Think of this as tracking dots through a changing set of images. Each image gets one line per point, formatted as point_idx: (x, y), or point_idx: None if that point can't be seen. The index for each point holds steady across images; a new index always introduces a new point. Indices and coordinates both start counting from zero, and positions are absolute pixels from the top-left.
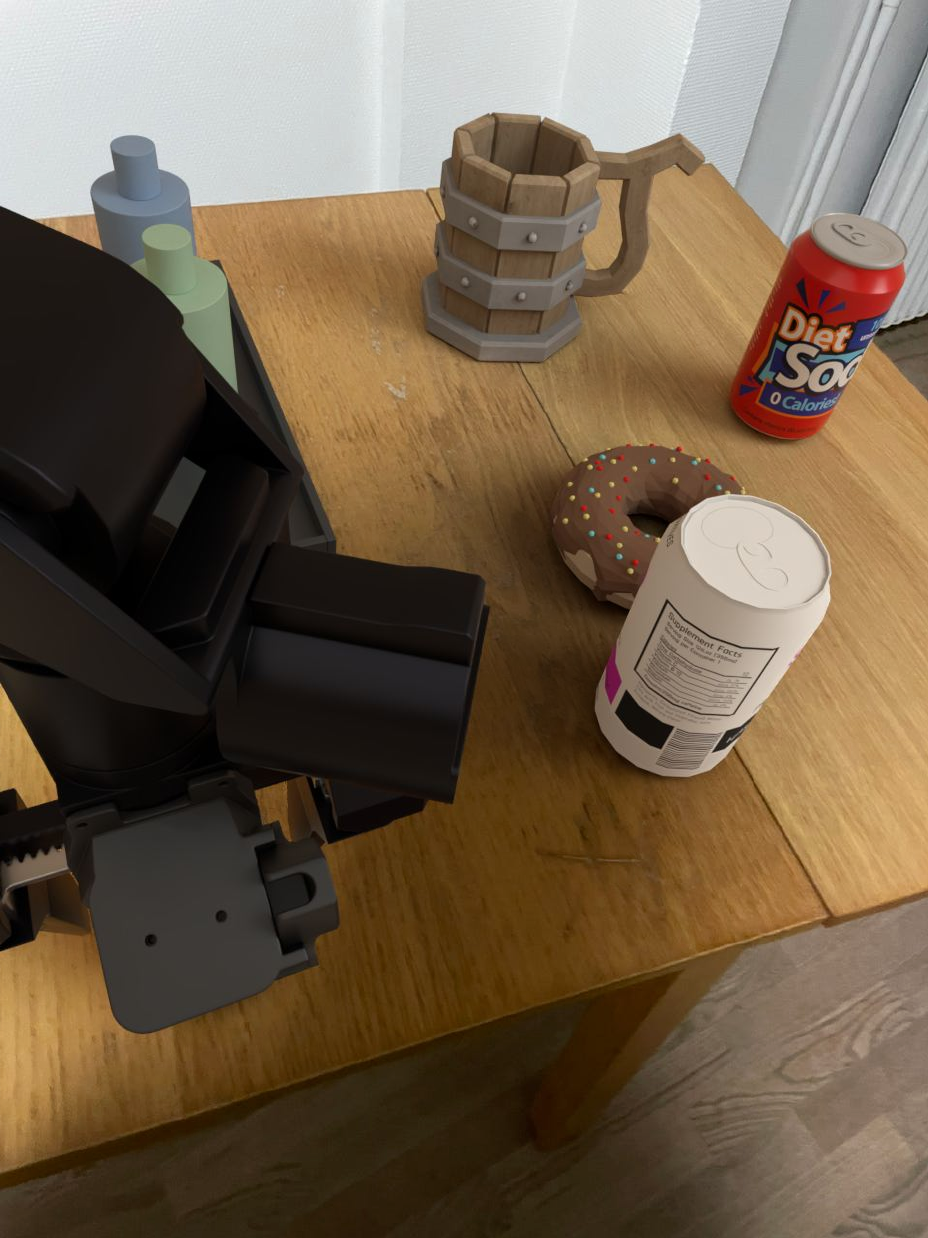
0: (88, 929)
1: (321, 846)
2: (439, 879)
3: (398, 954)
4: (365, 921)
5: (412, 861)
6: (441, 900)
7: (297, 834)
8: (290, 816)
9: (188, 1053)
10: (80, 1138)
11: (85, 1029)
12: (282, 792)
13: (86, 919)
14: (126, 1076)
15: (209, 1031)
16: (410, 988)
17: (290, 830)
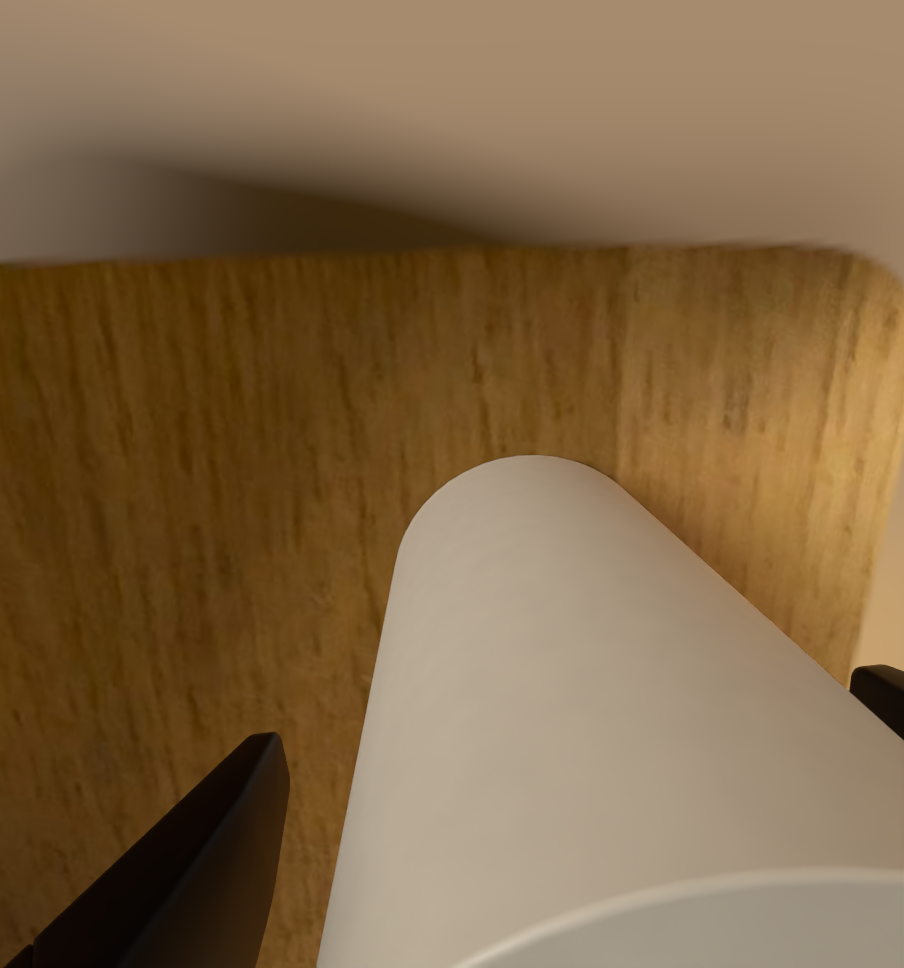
0: (890, 689)
1: (136, 843)
2: (42, 569)
3: (147, 439)
4: (211, 520)
5: (98, 616)
6: (41, 526)
7: (214, 910)
8: (243, 952)
9: (599, 352)
10: (824, 246)
11: (773, 447)
12: (347, 787)
13: (894, 718)
14: (719, 340)
15: (552, 383)
16: (127, 363)
17: (270, 864)
